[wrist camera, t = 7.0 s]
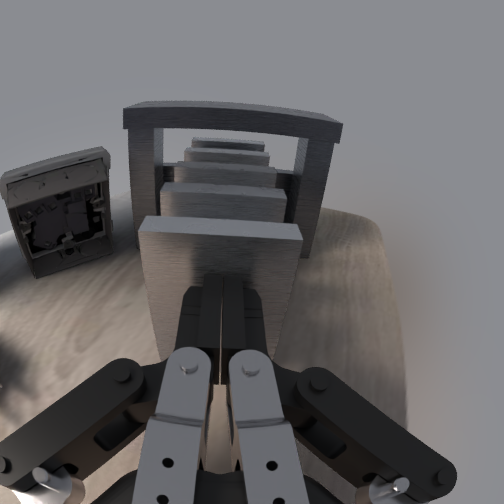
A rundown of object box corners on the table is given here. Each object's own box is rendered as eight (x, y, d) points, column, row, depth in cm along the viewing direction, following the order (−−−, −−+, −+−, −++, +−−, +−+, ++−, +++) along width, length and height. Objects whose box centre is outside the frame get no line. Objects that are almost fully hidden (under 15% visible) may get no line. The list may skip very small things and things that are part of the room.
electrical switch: (112, 231, 26) (104, 139, 20) (128, 262, 23) (118, 158, 17) (26, 259, 20) (0, 167, 15) (30, 297, 18) (-9, 194, 12)
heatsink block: (163, 370, 15) (138, 230, 10) (191, 227, 28) (193, 137, 23) (268, 374, 16) (303, 240, 10) (252, 231, 29) (263, 141, 24)
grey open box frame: (133, 255, 23) (123, 108, 16) (151, 218, 28) (149, 99, 22) (310, 264, 24) (343, 123, 18) (297, 227, 30) (318, 111, 23)
